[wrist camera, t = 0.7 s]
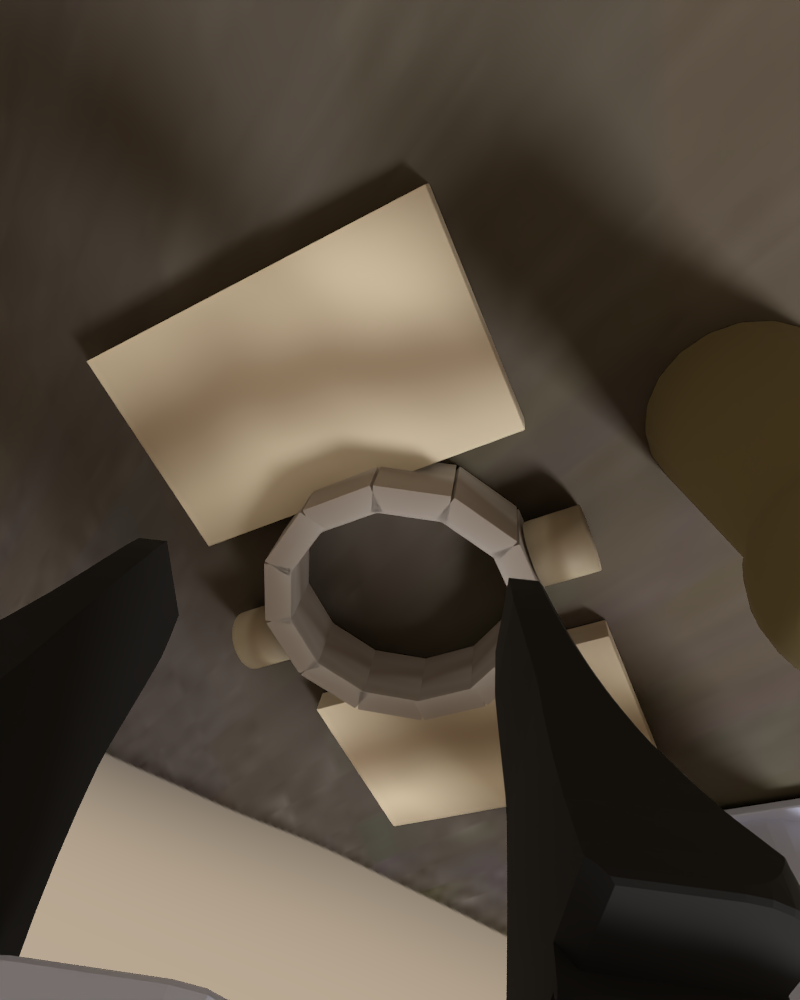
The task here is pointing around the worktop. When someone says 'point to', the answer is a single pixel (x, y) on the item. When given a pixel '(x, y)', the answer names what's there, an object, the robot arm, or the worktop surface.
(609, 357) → the worktop surface
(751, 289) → the worktop surface
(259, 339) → the hinge base
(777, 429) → the cork
